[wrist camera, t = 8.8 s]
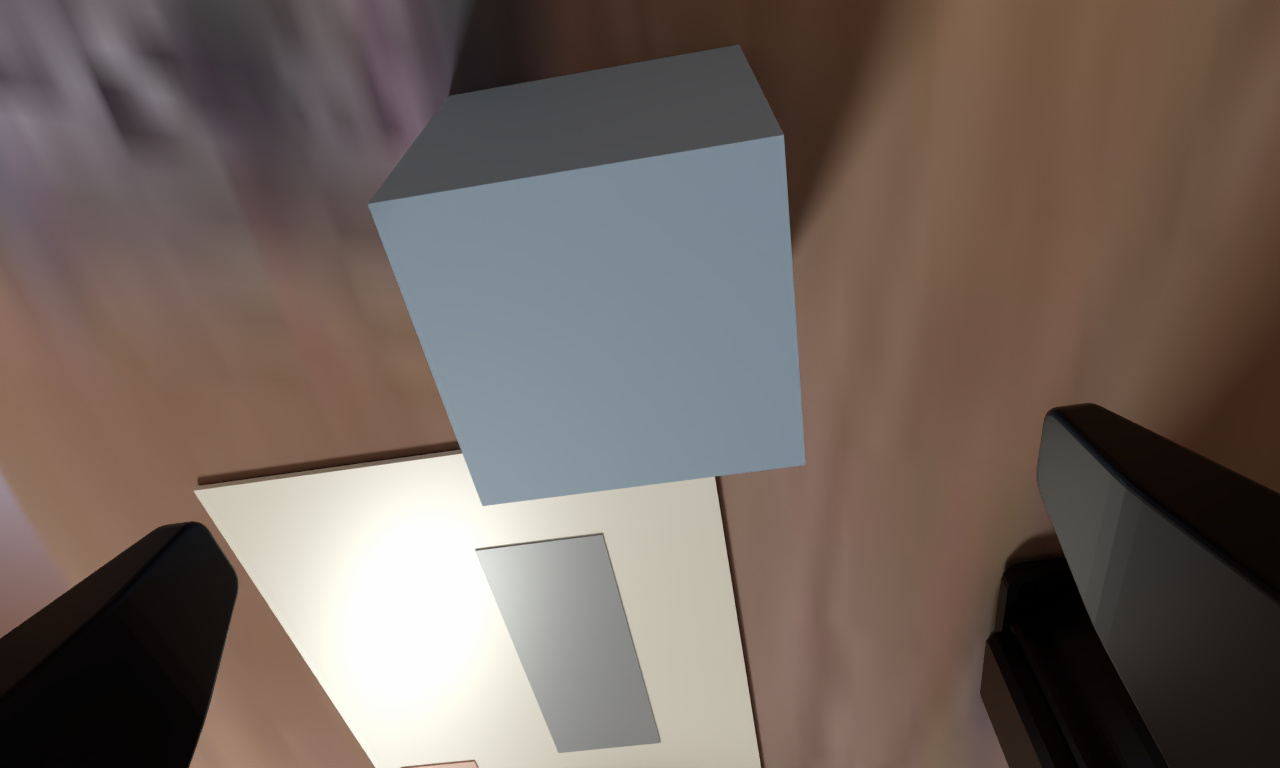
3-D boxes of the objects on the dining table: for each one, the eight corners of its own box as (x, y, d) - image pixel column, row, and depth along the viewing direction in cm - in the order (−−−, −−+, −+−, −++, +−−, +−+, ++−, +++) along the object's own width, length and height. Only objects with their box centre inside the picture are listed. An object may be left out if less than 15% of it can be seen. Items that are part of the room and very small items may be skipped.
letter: (705, 415, 17) (706, 421, 17) (765, 796, 26) (766, 802, 26) (196, 485, 19) (192, 492, 18) (419, 827, 28) (418, 833, 27)
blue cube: (738, 43, 13) (783, 134, 9) (762, 304, 16) (805, 465, 12) (449, 94, 14) (367, 203, 10) (521, 339, 16) (482, 506, 12)
